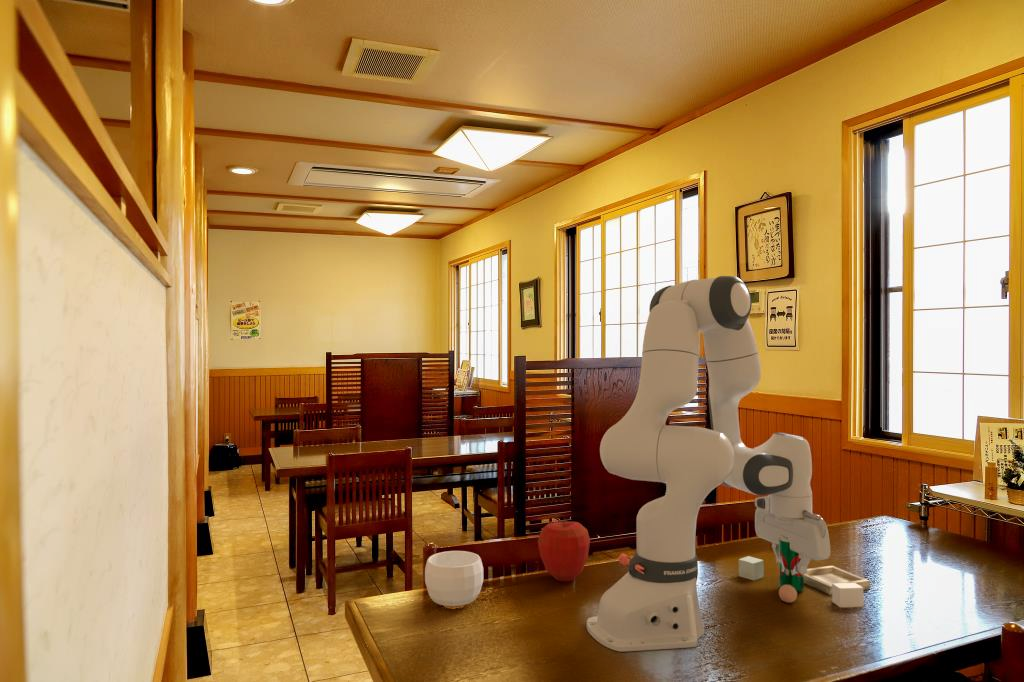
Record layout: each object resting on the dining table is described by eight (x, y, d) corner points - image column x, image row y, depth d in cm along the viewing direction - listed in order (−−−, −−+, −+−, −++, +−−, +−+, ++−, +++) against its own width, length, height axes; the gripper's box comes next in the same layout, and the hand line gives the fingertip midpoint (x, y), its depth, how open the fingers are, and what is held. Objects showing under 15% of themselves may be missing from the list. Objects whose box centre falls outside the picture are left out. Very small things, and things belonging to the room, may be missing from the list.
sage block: (753, 580, 158) (753, 563, 158) (738, 576, 161) (738, 559, 161) (763, 577, 160) (763, 560, 160) (748, 572, 164) (748, 556, 164)
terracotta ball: (786, 606, 142) (786, 588, 142) (775, 600, 146) (774, 583, 146) (800, 604, 143) (800, 586, 143) (789, 598, 147) (788, 581, 147)
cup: (412, 605, 144) (412, 559, 144) (456, 589, 153) (455, 546, 153) (452, 621, 136) (452, 572, 136) (495, 603, 145) (495, 557, 145)
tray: (829, 594, 149) (829, 586, 149) (794, 578, 159) (794, 570, 159) (869, 588, 152) (869, 580, 152) (832, 573, 163) (832, 565, 163)
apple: (578, 567, 168) (577, 510, 168) (599, 583, 156) (599, 522, 156) (530, 573, 164) (530, 514, 164) (549, 590, 152) (548, 527, 152)
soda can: (805, 587, 153) (805, 534, 153) (801, 594, 149) (801, 539, 149) (781, 583, 156) (781, 530, 156) (777, 590, 151) (776, 536, 151)
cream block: (840, 607, 142) (839, 588, 142) (832, 602, 145) (832, 583, 145) (863, 607, 142) (863, 587, 142) (855, 601, 145) (855, 582, 145)
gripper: (837, 516, 143) (838, 582, 143) (772, 495, 163) (772, 553, 163) (813, 518, 141) (813, 585, 141) (749, 497, 161) (750, 556, 161)
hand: (791, 568), depth 152 cm, fingers closed on soda can, 5 cm apart
